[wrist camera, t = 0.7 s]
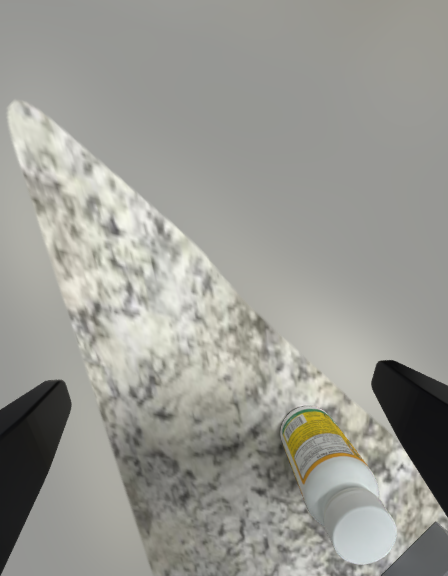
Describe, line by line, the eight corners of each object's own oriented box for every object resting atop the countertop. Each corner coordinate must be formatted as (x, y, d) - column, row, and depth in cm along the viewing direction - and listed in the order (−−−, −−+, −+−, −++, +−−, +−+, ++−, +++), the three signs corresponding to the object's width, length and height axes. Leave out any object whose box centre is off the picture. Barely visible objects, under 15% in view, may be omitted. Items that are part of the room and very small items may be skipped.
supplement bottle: (280, 404, 24) (323, 497, 15) (334, 403, 25) (412, 493, 15) (278, 456, 25) (319, 577, 15) (331, 454, 25) (404, 573, 16)
